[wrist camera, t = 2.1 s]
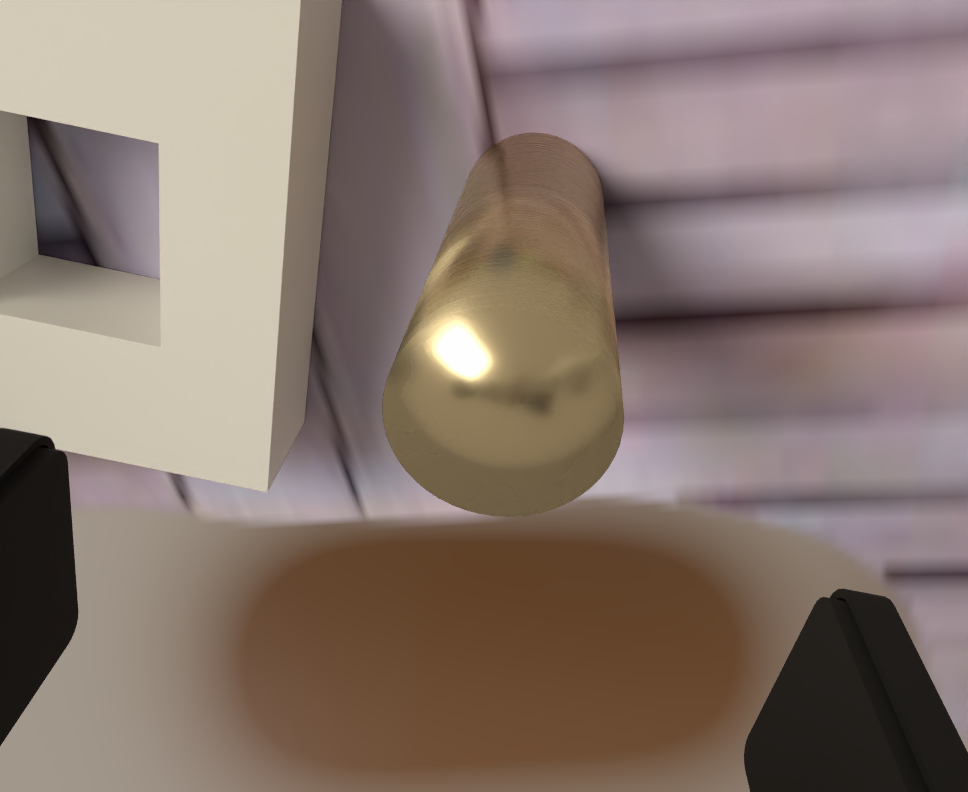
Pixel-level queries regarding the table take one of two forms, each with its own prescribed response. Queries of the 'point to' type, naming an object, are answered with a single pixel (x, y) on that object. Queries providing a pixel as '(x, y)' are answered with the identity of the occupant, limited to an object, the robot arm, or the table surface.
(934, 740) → the robot arm
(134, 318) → the white square socket block
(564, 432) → the gold cylindrical peg
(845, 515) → the table surface
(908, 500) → the table surface
